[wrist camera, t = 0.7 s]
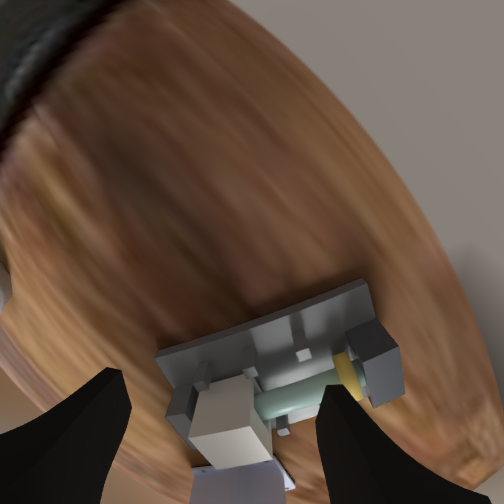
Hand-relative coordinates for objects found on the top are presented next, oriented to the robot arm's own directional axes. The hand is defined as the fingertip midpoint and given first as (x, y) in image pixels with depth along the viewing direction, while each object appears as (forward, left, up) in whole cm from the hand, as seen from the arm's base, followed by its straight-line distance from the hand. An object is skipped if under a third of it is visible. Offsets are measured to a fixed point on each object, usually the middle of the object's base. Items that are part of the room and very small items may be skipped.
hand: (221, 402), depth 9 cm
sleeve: (-3, -7, -9) cm, 12 cm away
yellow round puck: (+5, -7, -9) cm, 13 cm away
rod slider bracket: (0, -7, -11) cm, 13 cm away
